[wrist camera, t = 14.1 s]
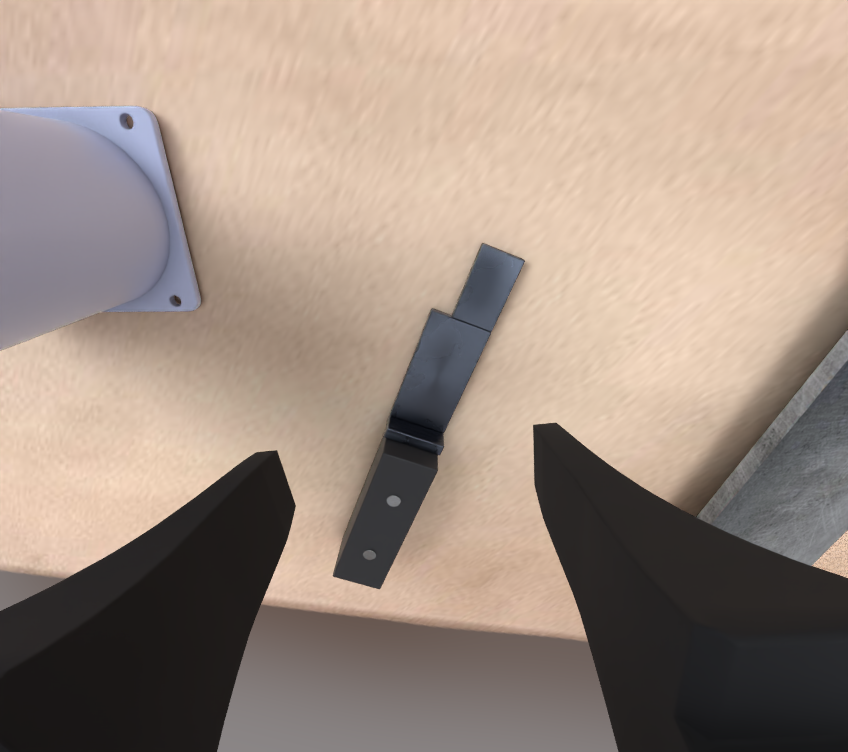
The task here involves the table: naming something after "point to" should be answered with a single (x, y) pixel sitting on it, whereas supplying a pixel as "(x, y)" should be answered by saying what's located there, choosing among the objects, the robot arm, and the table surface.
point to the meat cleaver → (794, 472)
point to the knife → (423, 419)
